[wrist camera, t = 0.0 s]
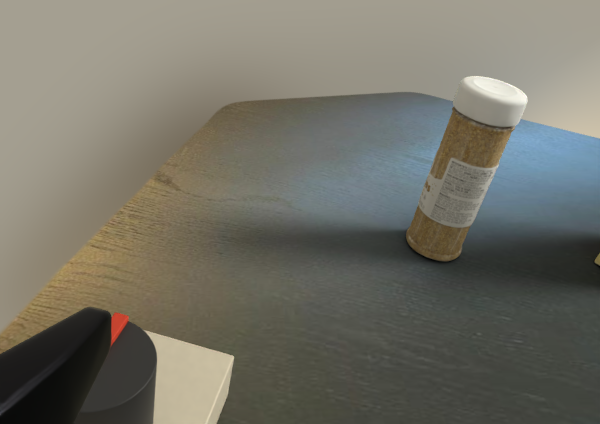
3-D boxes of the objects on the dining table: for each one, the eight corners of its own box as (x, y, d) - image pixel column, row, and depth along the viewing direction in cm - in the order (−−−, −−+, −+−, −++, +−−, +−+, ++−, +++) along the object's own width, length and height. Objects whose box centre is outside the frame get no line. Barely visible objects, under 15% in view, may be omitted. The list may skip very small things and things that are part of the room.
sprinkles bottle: (409, 222, 46) (465, 68, 39) (463, 241, 45) (529, 86, 38) (399, 251, 42) (458, 85, 35) (457, 272, 41) (530, 106, 34)
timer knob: (121, 503, 20) (123, 422, 18) (10, 468, 20) (-5, 384, 18) (169, 406, 24) (176, 328, 21) (74, 378, 24) (69, 297, 22)
